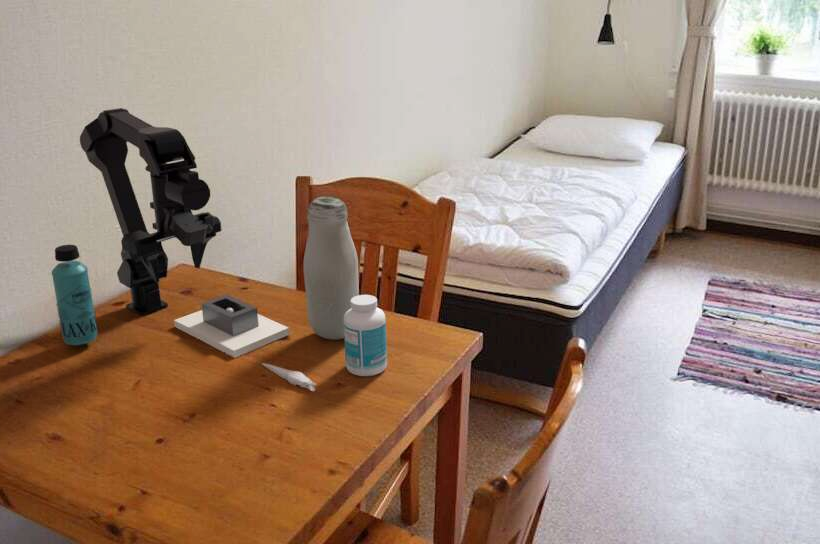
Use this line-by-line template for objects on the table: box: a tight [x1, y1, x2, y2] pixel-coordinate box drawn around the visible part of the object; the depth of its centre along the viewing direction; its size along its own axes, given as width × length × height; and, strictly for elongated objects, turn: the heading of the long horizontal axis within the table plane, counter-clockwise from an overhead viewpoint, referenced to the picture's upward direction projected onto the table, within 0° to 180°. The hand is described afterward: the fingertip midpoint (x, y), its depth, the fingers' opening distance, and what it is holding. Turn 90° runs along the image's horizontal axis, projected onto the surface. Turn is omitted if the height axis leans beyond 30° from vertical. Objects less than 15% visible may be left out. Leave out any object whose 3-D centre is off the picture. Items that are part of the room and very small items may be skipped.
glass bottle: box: [302, 196, 360, 341], centre depth 153 cm, size 10×10×28 cm
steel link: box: [200, 294, 259, 336], centre depth 159 cm, size 10×6×4 cm, turn 47°
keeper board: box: [173, 308, 290, 359], centre depth 160 cm, size 20×13×5 cm, turn 48°
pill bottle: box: [343, 294, 388, 377], centre depth 144 cm, size 8×7×14 cm
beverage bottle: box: [51, 244, 99, 346], centre depth 152 cm, size 6×7×20 cm
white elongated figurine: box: [261, 363, 317, 392], centre depth 143 cm, size 15×3×2 cm, turn 47°
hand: (177, 274), depth 157 cm, fingers open, 9 cm apart
